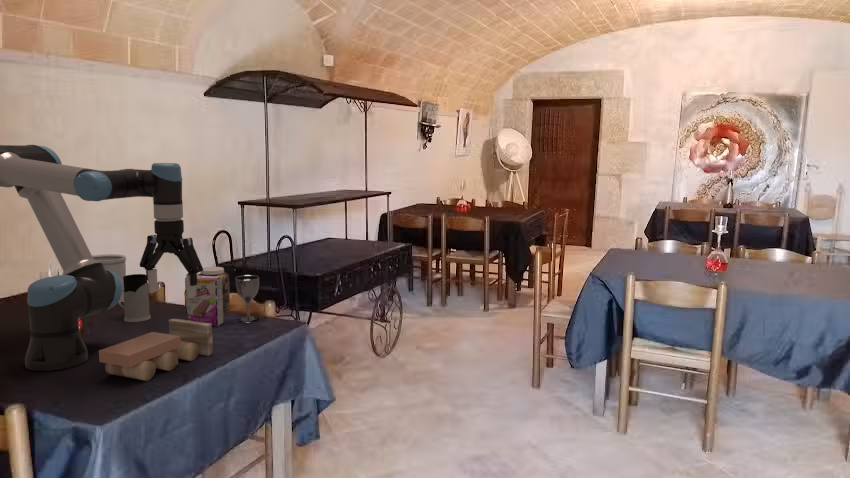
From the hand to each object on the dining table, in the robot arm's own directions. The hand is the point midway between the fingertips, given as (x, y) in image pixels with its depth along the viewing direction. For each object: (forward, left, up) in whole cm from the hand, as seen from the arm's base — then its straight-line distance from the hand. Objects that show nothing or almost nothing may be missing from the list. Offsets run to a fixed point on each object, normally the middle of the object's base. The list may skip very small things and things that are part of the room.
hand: (172, 294), depth 179 cm
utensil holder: (0, +81, -19) cm, 83 cm away
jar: (+29, +48, -19) cm, 59 cm away
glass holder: (+1, +52, -19) cm, 55 cm away
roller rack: (-5, -3, -18) cm, 19 cm away
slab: (-10, -6, -14) cm, 18 cm away
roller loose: (+1, 0, -19) cm, 19 cm away
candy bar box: (+19, +29, -19) cm, 39 cm away
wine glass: (+33, +26, -19) cm, 46 cm away
